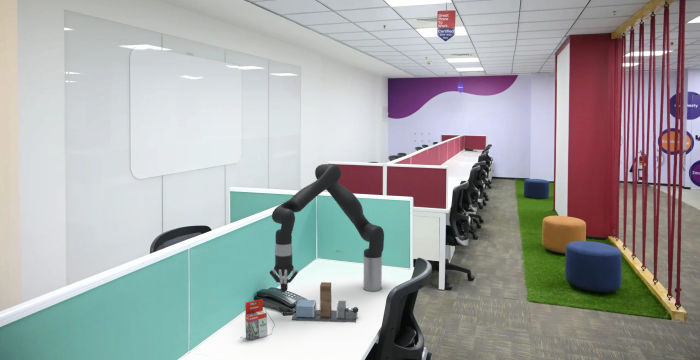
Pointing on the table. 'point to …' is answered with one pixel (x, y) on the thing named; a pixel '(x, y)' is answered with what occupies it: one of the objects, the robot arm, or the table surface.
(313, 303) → the sliding jaw
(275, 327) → the table surface
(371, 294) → the table surface
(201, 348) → the table surface
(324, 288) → the walnut block
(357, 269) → the table surface
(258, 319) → the ink box
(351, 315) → the vise
